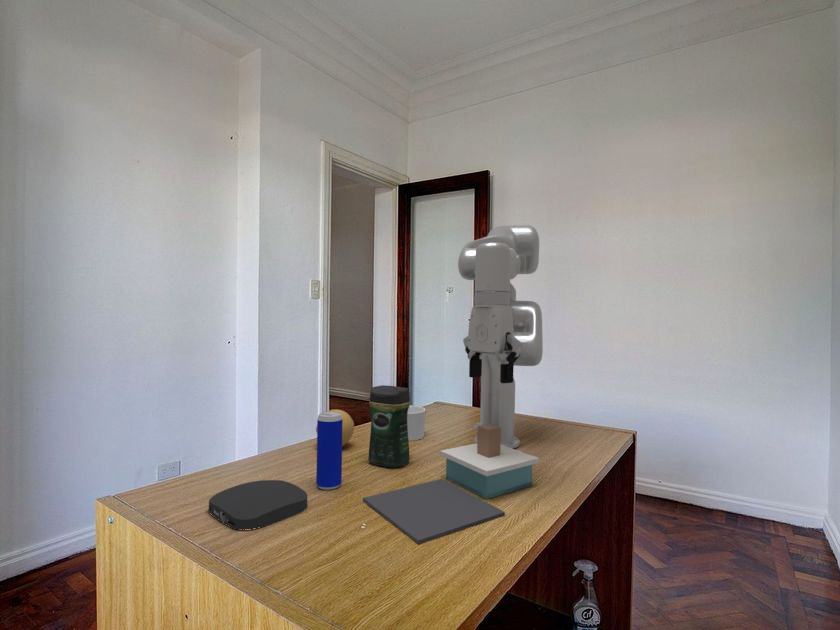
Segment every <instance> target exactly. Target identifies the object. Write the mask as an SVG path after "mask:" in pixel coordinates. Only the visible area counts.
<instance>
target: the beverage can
mask: <svg viewBox="0 0 840 630" xmlns="http://www.w3.org/2000/svg"><path fill="white" fill-rule="evenodd" d="M316 422H317V424H316V427H317V432H316V476H315V477H316V478H315V479H316V482H315V485H316V486H317V487H318V488H319V489H320V490H324V491H333V490H335V489H338V488H339V487H340V486H341V484H342V481H343V480H342V478H343V477H342V476H343V474H342V473H343V471H342V470H343V469H342V468H343V446H342V424H343V418H342V415H341V413H339V412H328V411H325V412H320V413H319V414H318V416H317V421H316Z"/></svg>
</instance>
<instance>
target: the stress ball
mask: <svg viewBox="0 0 840 630" xmlns="http://www.w3.org/2000/svg"><path fill="white" fill-rule="evenodd" d="M327 412H339V413H341V415H342V418H343V424H342V447H343V446H344V445H346V444H347V443H349V441H350V440H351V439H352V437H353V435H354V431H355V430H354V429H355V422H354V420H353V418H352V416H351V415H349V413H347V412H346V411H344V410H341V409H330V410H327ZM315 432H316V433H317V426H316V428H315Z"/></svg>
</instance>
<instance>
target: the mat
mask: <svg viewBox="0 0 840 630" xmlns="http://www.w3.org/2000/svg"><path fill="white" fill-rule="evenodd" d="M362 502H363V503H365V504H366V505H367V506H368V507H370V508H371V509H372V510H374V511H375V512H376V513H378V515H380V516H381V517H383V518H384V519H385V520H387V522H389V523H390V524H391V525H393V526H394V527H395V528H397V529H398V530H399V531H400V532H402V533H403V534H404V535H406V536H407V537H408V538H409V539H411V540H412V541H413V542H414V543H416V544H417V545H420V544H423V543H425V542H426V543H427V542H429V541H432V540H434V539H435V540H436V539H438V538H441V537H444V536H447V535H450V534H453V533H456V532H459V531H462V530H464V529H467V528H471V527H474V526H477V525H480V524H483V523H486V522H488V521H491V520H495V519H498V518H501V517H504V516H506V512H505V511H504V510H502V509H501V508H498V507H497V506H494V505H492V504H491V503H488V501H485V500H483V499H480V498H479V497H477V496H476V495H473V494H471V493H470V492H469V491H466V490H464V489H462V488H460V487H458V486H456V485H454V484H452V483H451V482H448V481H446V480H445V479H443V478H439V479H436V480H431V481H426V482H423V483H420V484H414V485H409V486H406V487H403V488H398V489H394V490H389V491H386V492H382V493H378V494H373V495H369V496H366V497H362Z"/></svg>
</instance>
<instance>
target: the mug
mask: <svg viewBox="0 0 840 630" xmlns="http://www.w3.org/2000/svg"><path fill="white" fill-rule="evenodd" d="M426 415H427V414H426V408H425V407H422V406H419V405H411V404H410V406H409V408H408V414H407V427H408V441H409V442H414V441H413V440H416V441H420V440H422V439H424V438H423V437H425V430H426V428H425V427H426ZM419 439H420V440H419Z"/></svg>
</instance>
